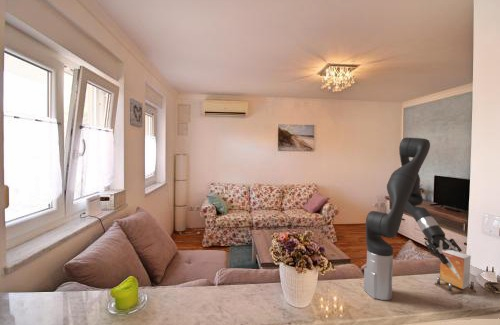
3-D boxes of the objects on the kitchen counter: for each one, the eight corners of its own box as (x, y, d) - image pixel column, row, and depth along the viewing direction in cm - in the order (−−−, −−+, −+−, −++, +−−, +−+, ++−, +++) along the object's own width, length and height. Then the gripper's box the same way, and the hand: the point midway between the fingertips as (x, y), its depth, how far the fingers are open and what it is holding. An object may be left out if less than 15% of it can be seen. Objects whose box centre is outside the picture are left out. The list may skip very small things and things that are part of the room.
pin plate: (451, 294, 94) (451, 284, 94) (434, 284, 101) (435, 276, 101) (475, 291, 96) (476, 283, 96) (457, 282, 103) (458, 274, 103)
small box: (439, 280, 101) (440, 250, 101) (446, 276, 104) (447, 248, 104) (463, 289, 94) (464, 258, 94) (469, 285, 97) (471, 255, 97)
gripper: (422, 224, 106) (446, 260, 95) (448, 224, 108) (475, 259, 97) (412, 232, 111) (434, 267, 100) (437, 231, 114) (461, 265, 102)
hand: (454, 263), depth 99 cm, fingers closed on small box, 7 cm apart
